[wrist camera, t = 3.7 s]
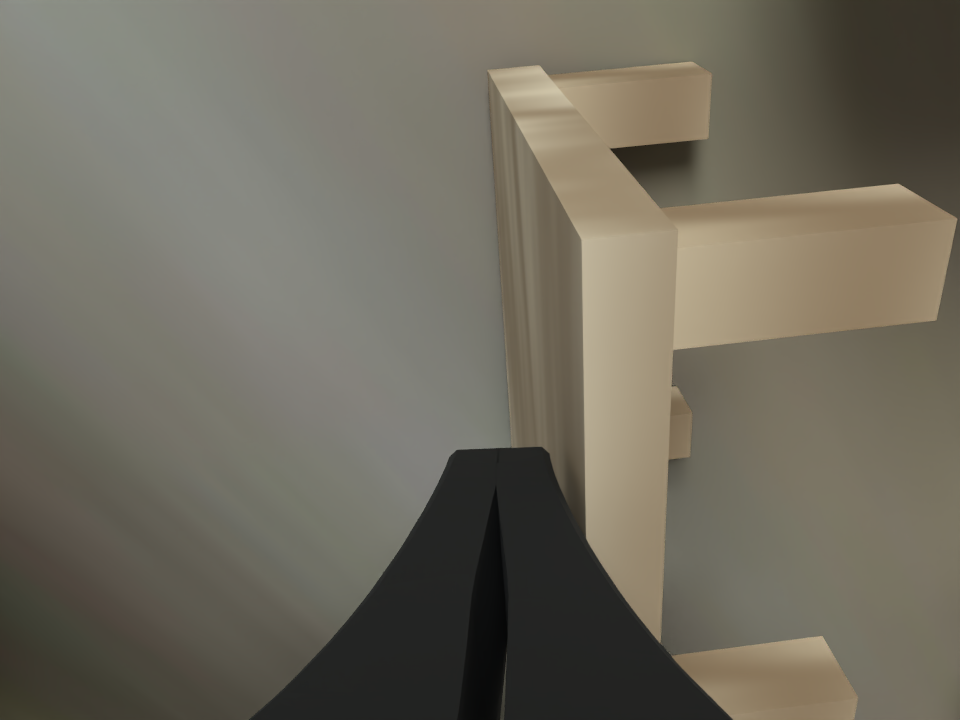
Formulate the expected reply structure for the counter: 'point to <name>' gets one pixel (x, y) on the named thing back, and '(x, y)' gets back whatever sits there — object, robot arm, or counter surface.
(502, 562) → the robot arm
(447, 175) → the counter surface
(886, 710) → the counter surface
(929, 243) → the footstool
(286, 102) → the counter surface
